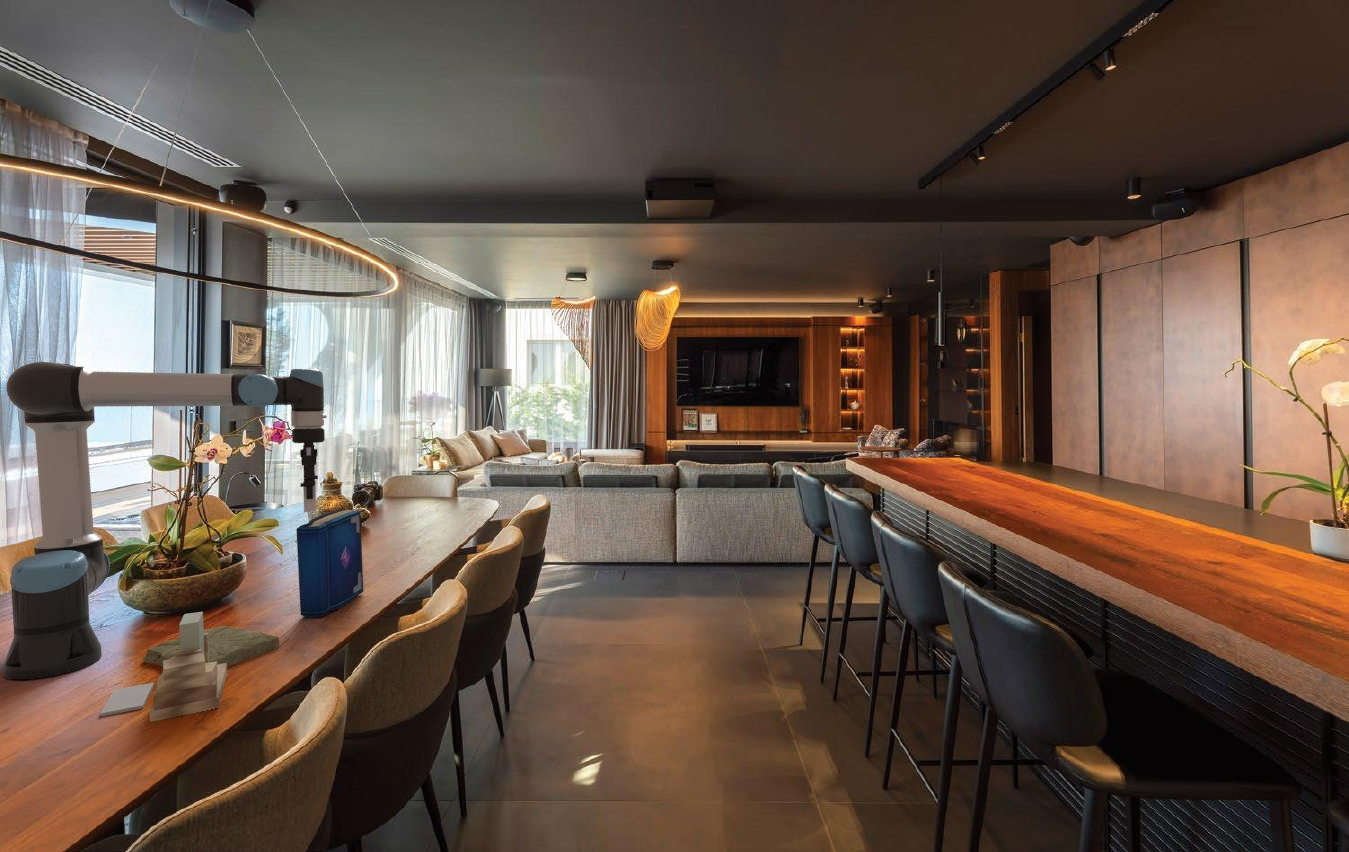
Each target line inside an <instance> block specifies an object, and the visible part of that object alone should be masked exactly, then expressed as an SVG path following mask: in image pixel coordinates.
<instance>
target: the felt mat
mask: <svg viewBox="0 0 1349 852" xmlns="http://www.w3.org/2000/svg"><path fill="white" fill-rule="evenodd" d="M154 686H155V682H149V683H144V684H137V685H132V686H128V687H122V688H115V689H114V690H113V692H112V693H111V695H110V696H109V698H108V700H107V702H106V703H105V705H104V706H103V708H102V710H101V711H100V713H99V716H100V717H101V718H102V717H106V716H107V717H108V716H111V715H116V714H121V713H126V712H132V711H137V710H142V709H144V708H145V706H146V703H147V702H148V699H149V697H150V695H151V693H152V691H153V688H154Z"/></svg>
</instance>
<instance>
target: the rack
mask: <svg viewBox="0 0 1349 852" xmlns="http://www.w3.org/2000/svg"><path fill="white" fill-rule="evenodd" d="M199 653H202V649H197V650H191V651H185V652H179V653H176V654H175V658H179V657H184V656H189V655H194V654H199ZM204 656H205V663H209V649H208V633H204ZM217 672H218V674H217V696H216V698H212V699H207V700H202V701H197V702H193V703H188V704H183V705H178V706H174V707H169V708H164V709H159V710H155V711H154V701H153V702H152V704H151V706H150V709H149V722H150V723H152V722H156V721H157V722H159V721H163V720H166V719H167V720H168V719H171V718H177V716H178V717H182V716H181V715H183V716H186V715H192V714H197V712H198V713H201V712H202V711H203V712H206V711H207V710H208V711H211V709H213V710H216V709H215V708H218V709H219V708H220V706H219V705H221V701H222V697H223V693H222V692H224V687H225V685H226V683H225V682H226V679H227V674H228V667H227V663H224V664H218V665H217ZM220 700H221V701H220Z"/></svg>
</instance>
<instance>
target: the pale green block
mask: <svg viewBox="0 0 1349 852" xmlns="http://www.w3.org/2000/svg"><path fill="white" fill-rule="evenodd" d="M178 626H179V629H178V630H179V631H178V632H179V637H180V652H185V651H191V650H197V649H202V653H204V630H205V629H204V628H205V627H204V612H203V611H198V612H197V611H196V612H191V613H189V612H188V613H184V615H183V616H182V618H181V620H180V622H179V625H178ZM204 658H205V656H204Z"/></svg>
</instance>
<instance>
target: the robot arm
mask: <svg viewBox="0 0 1349 852" xmlns="http://www.w3.org/2000/svg"><path fill="white" fill-rule="evenodd" d="M323 375H324V373H323V372H322V371H321V370H320V369H318V368H317V369H316V368H292V369H290V374H289V375H286V376H278V375H277V376H276V375H267V374H264V373H252V374H250V373H249V374H245V373H243V374H242V373H237V374H235V373H234V374H233V373H199V372H198V373H194V372H193V373H192V372H189V373H187V372H186V373H185V372H140V371H139V372H137V371H136V372H135V371H133V372H130V371H93V370H92V369H91V368H90V367H88V366H76V365H72V364H69V363H59V362H58V363H57V362H51V361H50V362H49V361H35V362H31V363H27V364H24V365H22V366H19V368H17V369H15V370H14V371H13V372H12V373H11V374H10V376H9V378H8V380H7V382H6V393H7V396H8V399H10V401H11V402H12V403H13V404H14V406H15V407H17V408H18V409H20V410H21V411H23V415H24V416H23V417H24V425H25V426H27V427H28V428H30V429H31V430H33V432H34V433H35V434H34V436H35V449H36V460H37V473H38V476H37V477H38V490H39V491H38V492H39V502H40V503H39V504H40V517H41V531H42V538H40V540H39V541H37V542H36V543H35V544H34V545H33V550H34V555H32V556H27V557H24V558H22V559H19V560H18V561H17V562H15V563H14V565H13V566H12V568H11V571H10V577H9V584H10V588H11V602H12V604H11V606H12V621H13V624H12V625H13V639H12V641H11V644H10V647H9V649H8V652H7V654H6V657H5V660H4V662H3V667H2V668H3V669H2V670H3V677H4V678H5V677H6V678H5V679H7V680H11V679H30V680H37V679H36V678H38V679H42V678H43V677H45V678H49V676H50V677H54V676H53V675H55V676H59V675H62V673H63V674H66V673H65V672H67V673H70V672H69V671H71V672H73V671H76V670H80V669H82V668H85V667H87V666H89V665H92V664H94V663H95V662H97V661H99V660H100V659H101V657H102V654H103V653H102V645H101V642H100V640H99V639H98V637H97V635H96V633H95V631H94V628H93V627H92V625H91V622H90V608H89V607H90V604H89V603H90V602H89V596H90V595H91V594H92V593H93V592H95V591H96V590H97V589H99V588H100V587H101V585H103V584H104V582H105V581H106V580H107V577H108V574H109V572H110V567H111V562H110V558H109V556H108V554H107V553H106V551H105V550H104V540H103V539H104V538H103V536H102V535H100V534H98V533H97V532H96V531H94V520H93V519H94V517H93V505H92V489H91V475H90V459H89V447H88V429H89V428H90V426H92V425H93V424H94V423H95V422H96V421H95V407H103V408H104V407H255V408H256V407H257V408H258V407H259V408H260V407H263V408H264V407H267V406H290V407H291V409H290V410H291V411H290V416H291V417H290V420H291V426H292V427H293V429H292V430H291V440H292V441H291V442H292V443H294V444H302V449H300V450H299V452H300V453H299V454H300V456H299V457H300V458H301V459H300V461H301V465H302V466H303V481H302V482H301V483H300V488H303V512H304V513H312V512H317V495H316V494H317V493H316V487H317V486H316V480H319V479H318V478H319V477H318V474H317V475H316V472H315V466H316V465H317V457H318V448H315V444H317V443H323V442H325V440H326V439H325V438H326V435H325V429H324V428H323V427H324V425H325V420H324V419H327V418H328V416H327V415H326V414H325V412H324V411H325V409H324V408H325V405H324V404H325V399H324V398H325V395H324V393H325V391H324V390H325V389H324V387H325V386H324V376H323ZM314 443H315V444H314ZM58 674H59V675H58ZM43 679H44V678H43Z"/></svg>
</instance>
